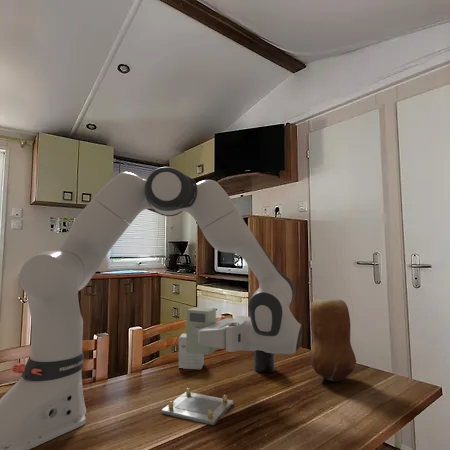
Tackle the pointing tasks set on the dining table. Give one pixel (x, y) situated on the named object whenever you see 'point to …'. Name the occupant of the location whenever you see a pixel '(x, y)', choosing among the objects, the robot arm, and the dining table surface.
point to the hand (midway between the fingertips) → (198, 328)
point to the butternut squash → (331, 339)
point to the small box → (189, 356)
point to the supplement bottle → (264, 361)
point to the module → (202, 320)
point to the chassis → (198, 407)
